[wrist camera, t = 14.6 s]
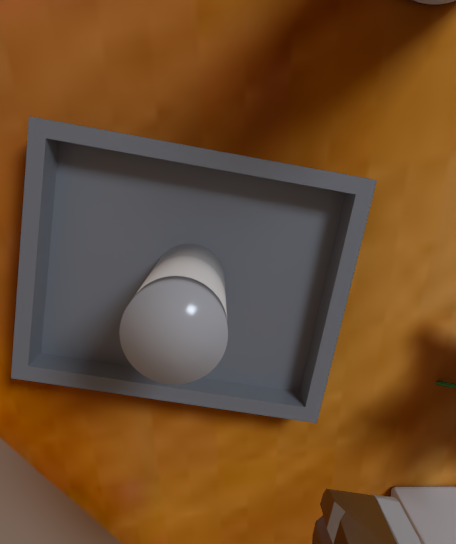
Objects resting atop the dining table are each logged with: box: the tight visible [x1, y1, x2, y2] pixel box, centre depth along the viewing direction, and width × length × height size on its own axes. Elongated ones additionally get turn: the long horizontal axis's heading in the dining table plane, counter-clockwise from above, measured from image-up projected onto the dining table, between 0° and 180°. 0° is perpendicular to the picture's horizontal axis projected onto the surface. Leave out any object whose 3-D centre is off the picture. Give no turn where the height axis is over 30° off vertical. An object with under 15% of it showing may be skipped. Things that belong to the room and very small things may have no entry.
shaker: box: [119, 244, 228, 385], centre depth 23 cm, size 5×5×10 cm
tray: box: [11, 116, 377, 423], centre depth 27 cm, size 20×16×3 cm
